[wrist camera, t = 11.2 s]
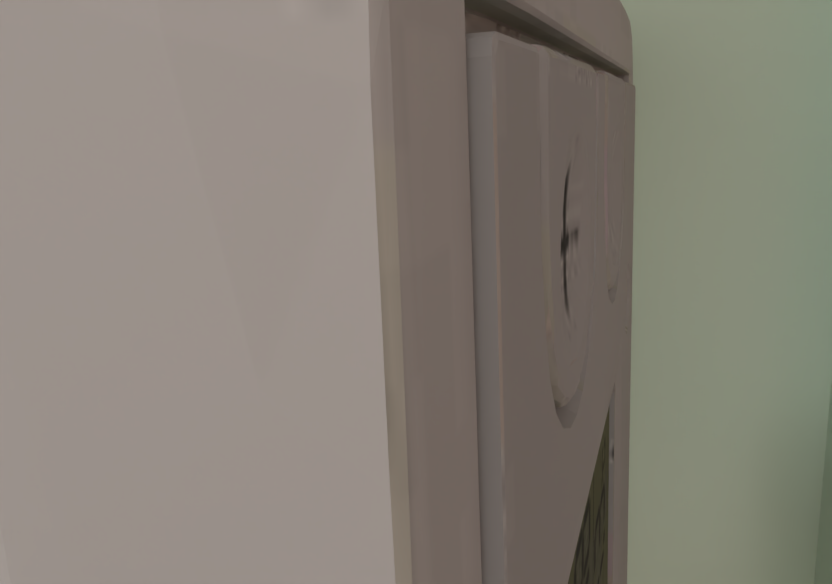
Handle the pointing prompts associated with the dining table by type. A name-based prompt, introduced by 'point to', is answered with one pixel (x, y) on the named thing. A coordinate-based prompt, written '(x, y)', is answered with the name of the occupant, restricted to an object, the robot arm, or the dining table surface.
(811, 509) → the tray
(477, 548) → the digital clock
